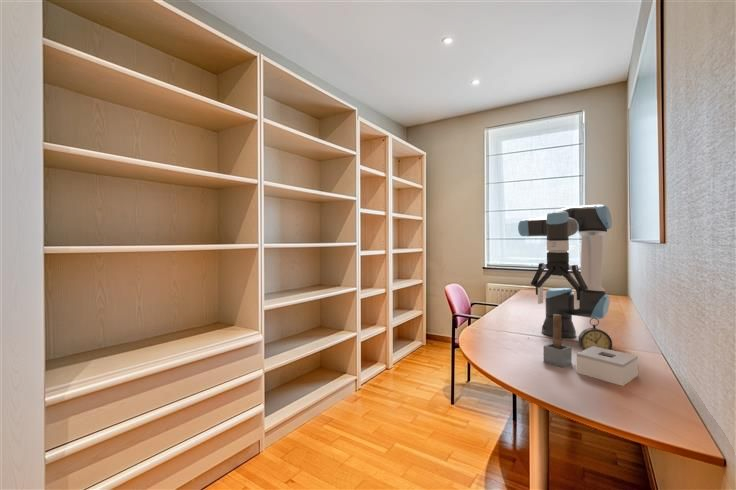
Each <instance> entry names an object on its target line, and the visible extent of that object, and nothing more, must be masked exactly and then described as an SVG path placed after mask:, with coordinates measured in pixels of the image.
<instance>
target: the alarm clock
mask: <svg viewBox="0 0 736 490" xmlns="http://www.w3.org/2000/svg"><path fill="white" fill-rule="evenodd" d="M594 319H595V320H597V324H592V323H591V321H592V320H594ZM589 324H590V325H591V326H592V327H588V328H585V329H584V330H582V331H581V332H580V334H578V335H579V336H578V339H577V341H578V345H579V347H580V348H581V349H582V351H583V350H585V349H588V348H590V347H592V346H595V347H600V348H604V349H609V350H612V348H613V341H612V338H611V337H610V335H609V334H608V333H607V332H605V331H604V330H602V329H600V328H596V326H598V325H599V324H600V319H597V318H590V319H589Z"/></svg>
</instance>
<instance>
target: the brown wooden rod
mask: <svg viewBox="0 0 736 490" xmlns="http://www.w3.org/2000/svg"><path fill="white" fill-rule="evenodd" d="M552 337H553V339H552V343H553V348H557V349H561V345H562V338H561V315H559V314H553V336H552Z"/></svg>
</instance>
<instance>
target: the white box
mask: <svg viewBox="0 0 736 490" xmlns="http://www.w3.org/2000/svg"><path fill="white" fill-rule="evenodd" d="M638 358H639V356H638V355H635V354H630V353H626V352H621V351H617V350H612V349H611V350H609V349H604V348H600V347H595V346H592V347H590V348H588V349H585V350H583V349H582V350H581V351H579V352H577V353H576V374H580V375H584V376H586V375H587V377H589V378H590V377H591V378H593V379H597V380H601V381H604V382H608V383H611V384H614V385H619V386H623V387H624V386H625V385H626V384H628V383H630V382H631V381H632V380H634V379H636V377H638V375H639V374H638V373H639V371H638V370H639V362H638V361H639V359H638Z"/></svg>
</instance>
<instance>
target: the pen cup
mask: <svg viewBox="0 0 736 490" xmlns="http://www.w3.org/2000/svg"><path fill="white" fill-rule="evenodd" d="M572 351H573V349H572V346H568V345H564V344H561V349H557V348H553V342H550V343H547V344H545V345H543V363H546V364H550V365H552V366H553V365H554V366H556V367H561V368H564V367H566V366H567V367H568V365H569V366H570V365H571V364H572V361H573V360H572V357H573V356H572Z"/></svg>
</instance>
